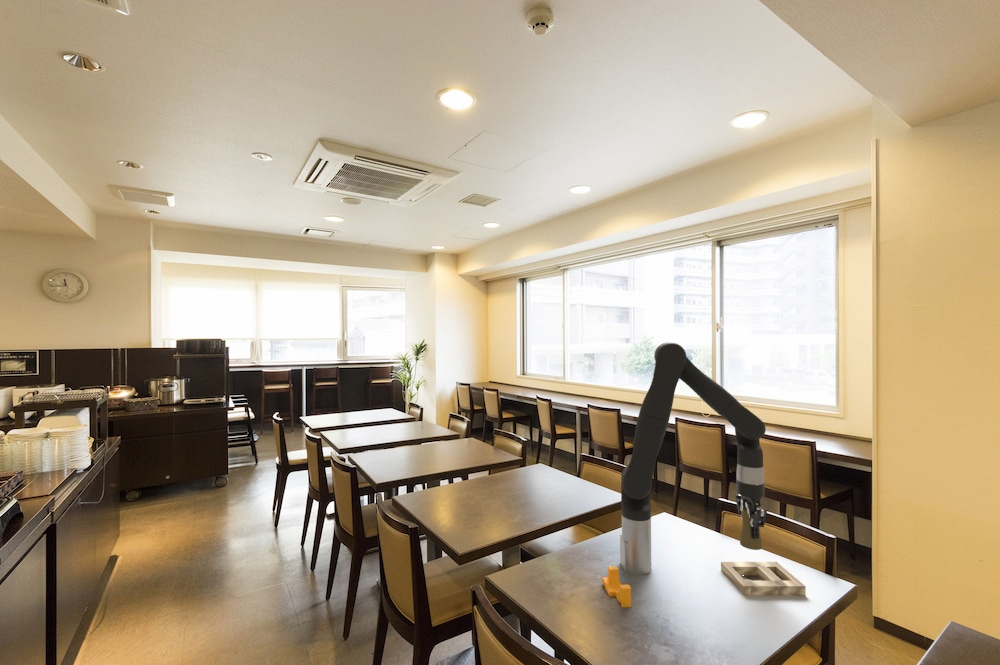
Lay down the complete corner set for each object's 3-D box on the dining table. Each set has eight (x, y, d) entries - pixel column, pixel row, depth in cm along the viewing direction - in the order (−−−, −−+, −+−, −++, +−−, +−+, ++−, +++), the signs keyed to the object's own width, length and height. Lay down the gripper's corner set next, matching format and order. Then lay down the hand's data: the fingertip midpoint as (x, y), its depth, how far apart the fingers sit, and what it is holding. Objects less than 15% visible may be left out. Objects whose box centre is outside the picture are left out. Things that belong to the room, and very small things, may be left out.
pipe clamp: (602, 588, 137) (602, 566, 137) (616, 587, 138) (616, 566, 138) (616, 612, 125) (616, 589, 125) (631, 611, 126) (631, 588, 126)
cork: (743, 538, 143) (743, 504, 143) (764, 545, 139) (764, 509, 139) (737, 545, 139) (736, 509, 139) (758, 551, 135) (758, 515, 135)
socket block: (743, 596, 132) (743, 586, 132) (720, 571, 146) (720, 561, 146) (805, 596, 132) (805, 586, 132) (776, 571, 146) (776, 561, 146)
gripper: (726, 472, 146) (727, 525, 146) (750, 487, 132) (751, 545, 132) (749, 472, 146) (750, 525, 146) (776, 487, 132) (776, 545, 132)
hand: (750, 534), depth 139 cm, fingers closed on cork, 4 cm apart
